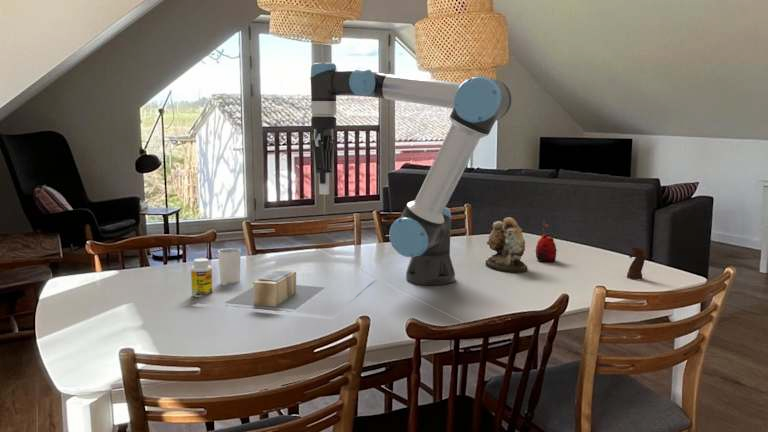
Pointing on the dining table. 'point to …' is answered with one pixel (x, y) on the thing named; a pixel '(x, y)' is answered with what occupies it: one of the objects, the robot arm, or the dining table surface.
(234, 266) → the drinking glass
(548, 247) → the red clay folk toy
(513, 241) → the owl figurine
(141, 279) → the dining table surface
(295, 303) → the mat
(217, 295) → the dining table surface
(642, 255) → the chess piece
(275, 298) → the oak block
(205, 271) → the supplement bottle
